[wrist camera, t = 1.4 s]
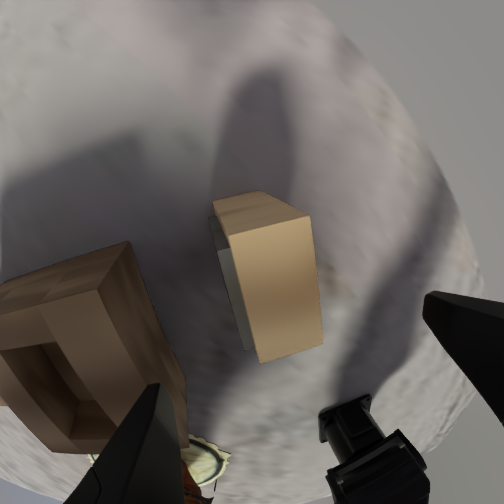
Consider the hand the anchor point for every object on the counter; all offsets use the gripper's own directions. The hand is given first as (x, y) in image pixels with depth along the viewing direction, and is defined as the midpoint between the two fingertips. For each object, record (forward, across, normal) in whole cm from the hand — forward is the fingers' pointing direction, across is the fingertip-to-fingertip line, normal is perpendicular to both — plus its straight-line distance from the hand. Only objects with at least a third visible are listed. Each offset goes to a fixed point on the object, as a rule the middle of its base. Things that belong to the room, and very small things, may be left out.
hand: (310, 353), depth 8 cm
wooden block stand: (+11, +24, +4) cm, 27 cm away
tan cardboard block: (+11, 0, 0) cm, 11 cm away
